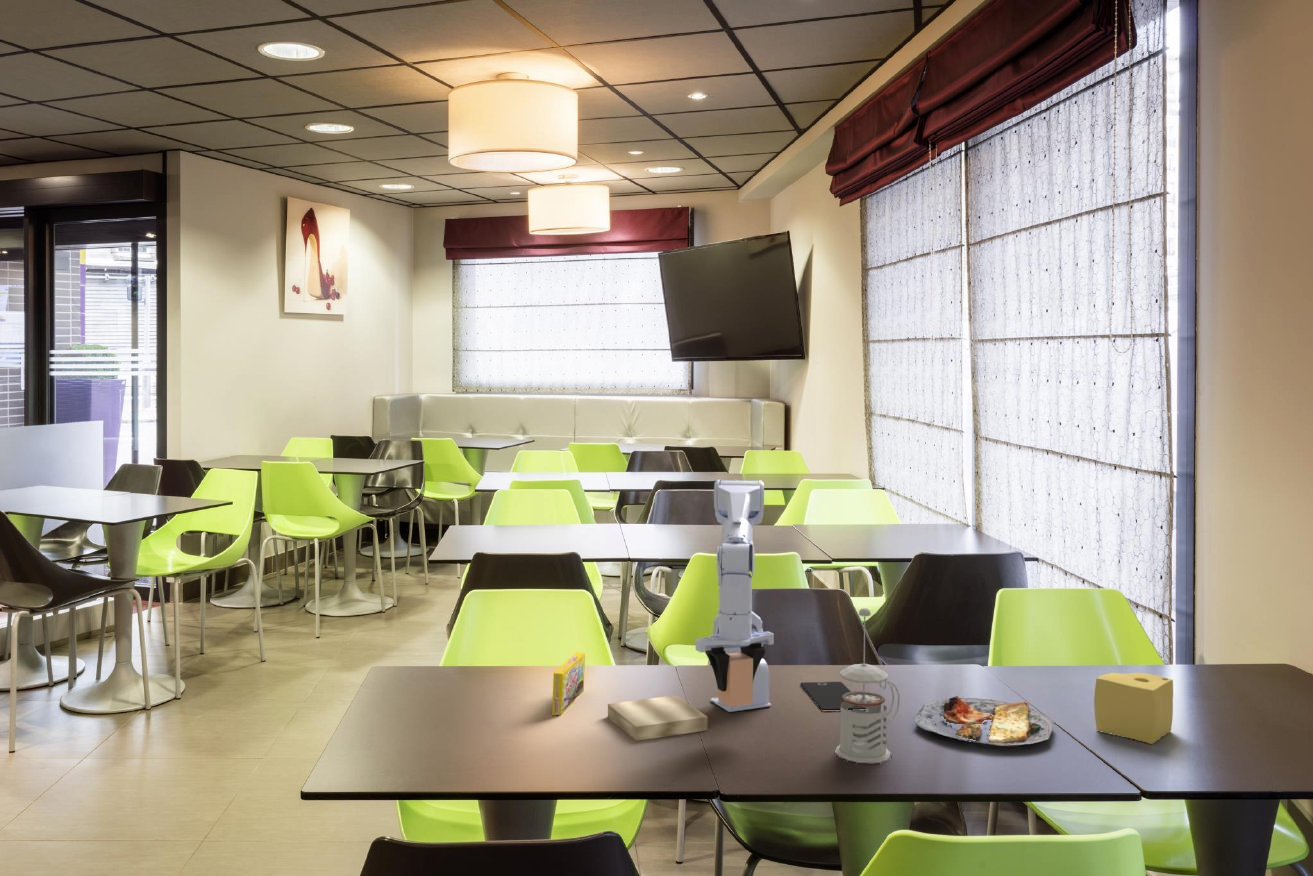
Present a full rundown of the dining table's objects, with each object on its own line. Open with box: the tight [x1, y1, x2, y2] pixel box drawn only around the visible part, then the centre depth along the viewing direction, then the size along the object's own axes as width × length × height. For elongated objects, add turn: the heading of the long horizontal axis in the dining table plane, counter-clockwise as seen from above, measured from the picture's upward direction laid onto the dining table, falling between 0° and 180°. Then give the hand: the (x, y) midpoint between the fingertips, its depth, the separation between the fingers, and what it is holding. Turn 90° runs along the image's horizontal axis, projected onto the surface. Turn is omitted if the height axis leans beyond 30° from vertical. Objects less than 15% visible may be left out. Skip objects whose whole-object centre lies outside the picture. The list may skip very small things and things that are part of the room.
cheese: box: [1093, 672, 1174, 745], centre depth 184 cm, size 10×11×10 cm
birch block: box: [607, 694, 708, 742], centre depth 188 cm, size 14×14×3 cm
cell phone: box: [799, 681, 866, 710], centre depth 204 cm, size 9×18×1 cm, turn 6°
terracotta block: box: [717, 652, 753, 707], centre depth 178 cm, size 4×4×8 cm
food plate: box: [914, 695, 1055, 748], centre depth 186 cm, size 25×23×4 cm
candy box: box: [551, 651, 586, 716], centre depth 200 cm, size 16×2×8 cm, turn 168°
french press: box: [835, 607, 901, 762], centre depth 172 cm, size 10×12×25 cm
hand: (734, 688), depth 178 cm, fingers closed on terracotta block, 4 cm apart
